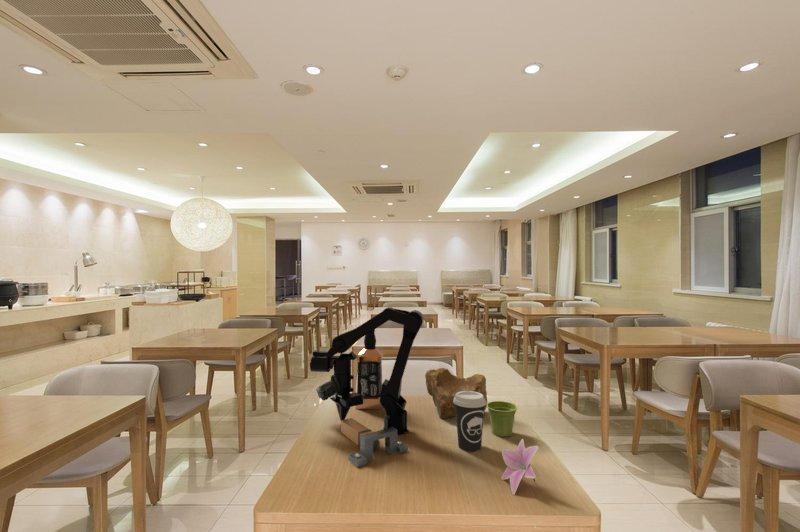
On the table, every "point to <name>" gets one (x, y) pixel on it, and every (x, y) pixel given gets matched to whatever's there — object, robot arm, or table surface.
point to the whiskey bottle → (369, 373)
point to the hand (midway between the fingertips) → (342, 420)
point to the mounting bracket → (367, 446)
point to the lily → (518, 464)
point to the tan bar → (356, 431)
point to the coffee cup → (469, 419)
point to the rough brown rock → (451, 389)
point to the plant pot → (502, 417)
